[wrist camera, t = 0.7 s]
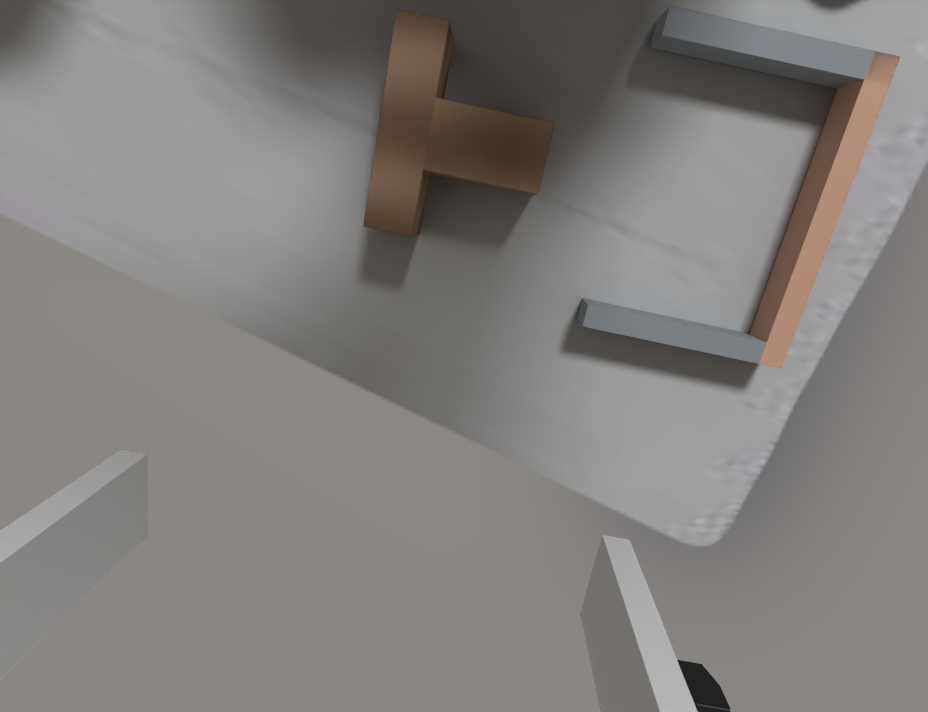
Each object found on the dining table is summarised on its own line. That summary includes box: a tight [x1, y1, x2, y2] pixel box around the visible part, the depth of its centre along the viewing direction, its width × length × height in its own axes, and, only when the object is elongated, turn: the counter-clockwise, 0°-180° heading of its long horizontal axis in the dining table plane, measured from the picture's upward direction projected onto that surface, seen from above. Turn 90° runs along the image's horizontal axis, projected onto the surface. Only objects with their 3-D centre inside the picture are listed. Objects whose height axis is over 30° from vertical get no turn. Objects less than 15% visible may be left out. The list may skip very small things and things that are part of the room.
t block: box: [364, 9, 554, 236], centre depth 34 cm, size 12×10×4 cm
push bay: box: [577, 6, 900, 368], centre depth 34 cm, size 19×14×2 cm
